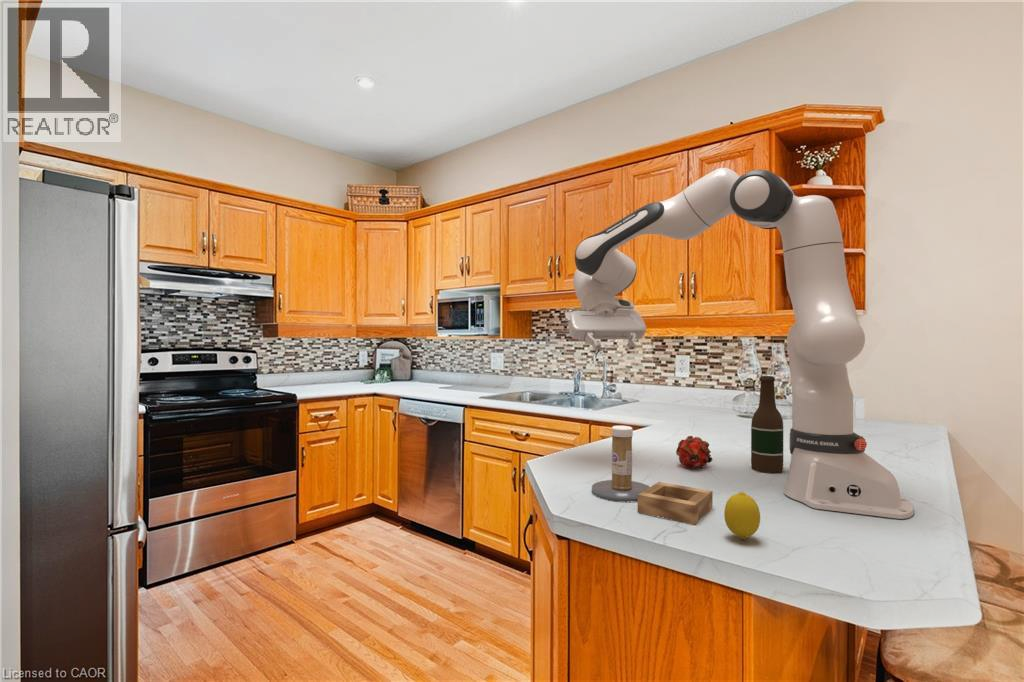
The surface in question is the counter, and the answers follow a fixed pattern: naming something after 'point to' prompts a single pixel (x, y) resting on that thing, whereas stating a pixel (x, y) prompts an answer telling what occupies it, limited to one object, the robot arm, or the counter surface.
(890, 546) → the counter surface
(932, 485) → the counter surface
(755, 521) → the lemon
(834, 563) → the counter surface
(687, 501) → the frame
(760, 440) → the beer bottle
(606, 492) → the slate coaster
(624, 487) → the sprinkles bottle
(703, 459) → the dragon fruit
